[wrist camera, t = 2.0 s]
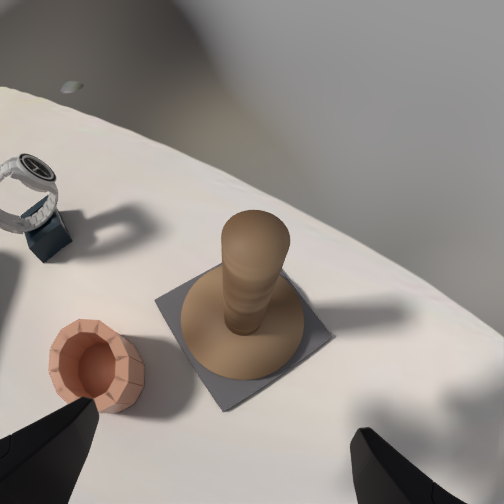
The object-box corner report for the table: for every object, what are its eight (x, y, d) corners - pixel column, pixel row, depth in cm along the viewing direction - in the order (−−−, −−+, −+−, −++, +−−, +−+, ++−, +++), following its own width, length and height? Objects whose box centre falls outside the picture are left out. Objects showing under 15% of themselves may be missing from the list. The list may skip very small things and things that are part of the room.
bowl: (159, 390, 20) (145, 387, 16) (93, 423, 18) (70, 424, 14) (122, 320, 23) (105, 304, 19) (62, 353, 20) (38, 342, 17)
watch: (86, 230, 27) (43, 155, 17) (32, 272, 24) (-26, 211, 14) (71, 201, 29) (35, 131, 19) (22, 239, 26) (-26, 178, 16)
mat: (330, 337, 23) (332, 336, 23) (223, 411, 20) (223, 412, 19) (258, 244, 28) (258, 242, 27) (155, 301, 24) (154, 300, 23)
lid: (324, 335, 23) (401, 267, 12) (224, 403, 20) (219, 404, 9) (257, 248, 27) (276, 140, 16) (161, 301, 23) (113, 210, 13)
